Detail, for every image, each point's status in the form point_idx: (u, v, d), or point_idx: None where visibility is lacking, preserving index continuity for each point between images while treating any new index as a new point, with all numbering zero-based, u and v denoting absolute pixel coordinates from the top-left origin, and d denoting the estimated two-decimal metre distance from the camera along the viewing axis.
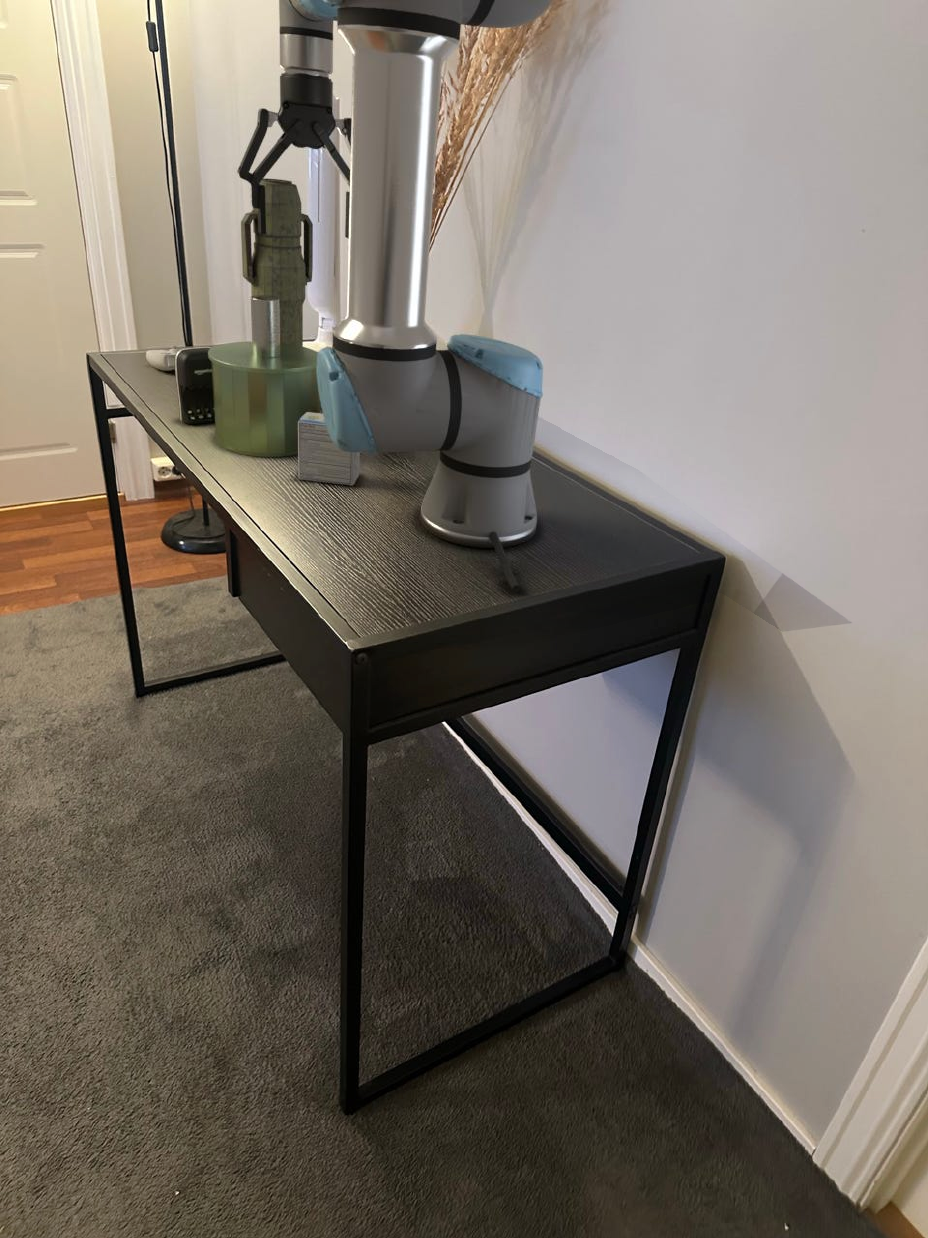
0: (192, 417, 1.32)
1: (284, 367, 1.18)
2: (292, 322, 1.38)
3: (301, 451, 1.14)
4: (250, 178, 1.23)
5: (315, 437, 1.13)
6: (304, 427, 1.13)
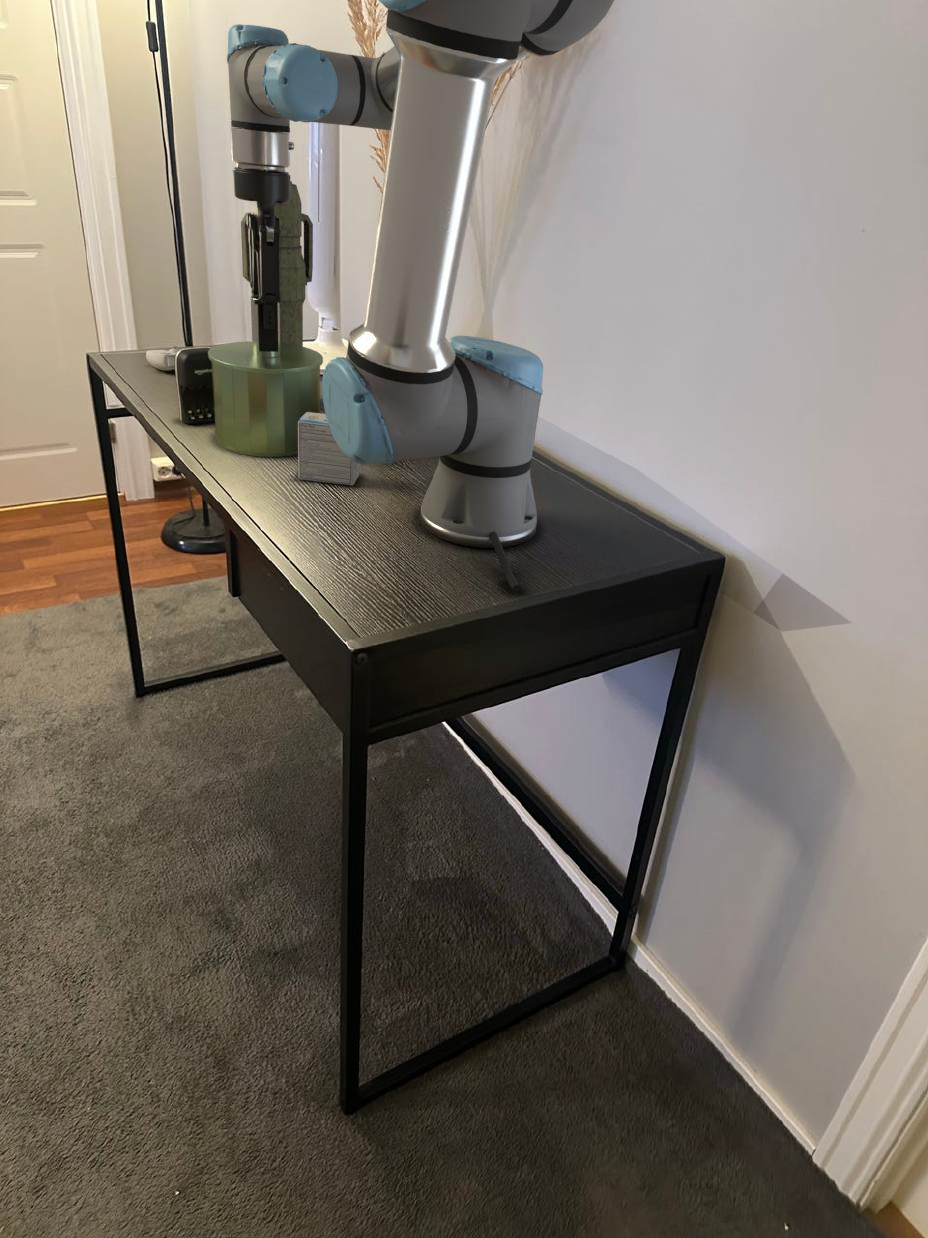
0: (192, 417, 1.32)
1: (284, 367, 1.18)
2: (292, 322, 1.38)
3: (301, 451, 1.14)
4: None
5: (315, 437, 1.13)
6: (304, 427, 1.13)
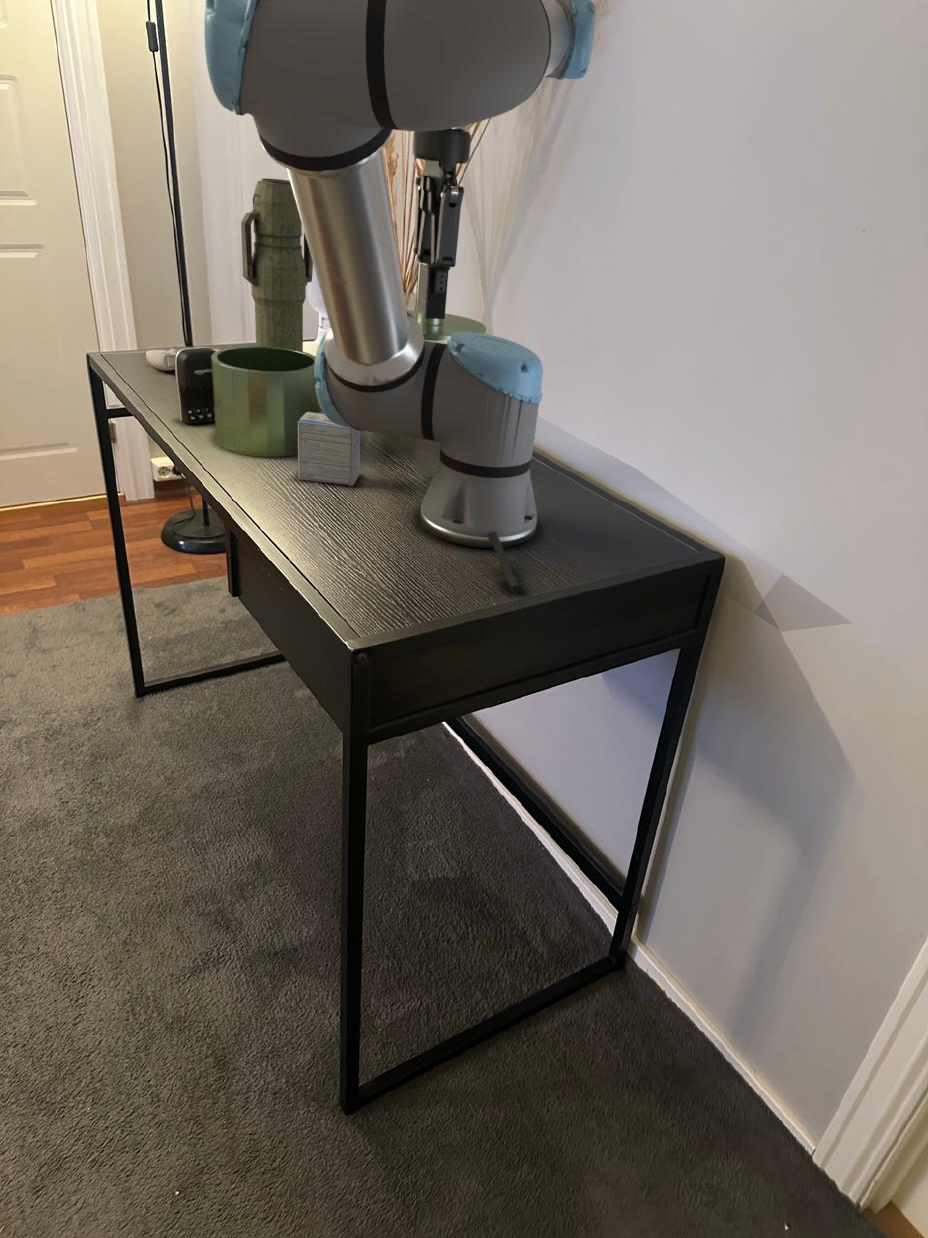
0: (192, 417, 1.32)
1: None
2: (292, 322, 1.38)
3: (301, 451, 1.14)
4: None
5: (315, 437, 1.13)
6: (304, 427, 1.13)
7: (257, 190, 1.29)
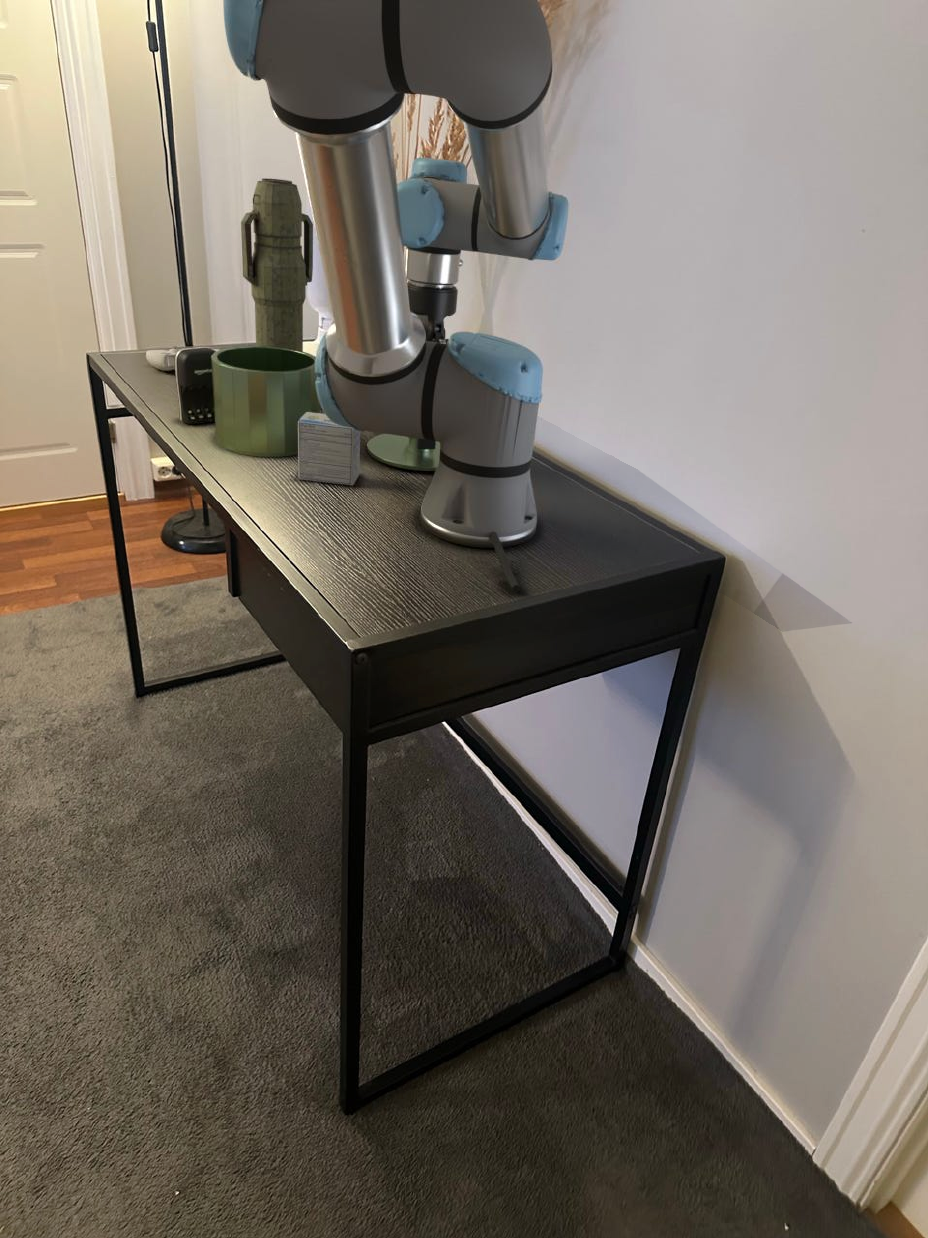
0: (192, 417, 1.32)
1: None
2: (292, 322, 1.38)
3: (301, 451, 1.14)
4: None
5: (315, 437, 1.13)
6: (303, 427, 1.13)
7: (257, 190, 1.29)
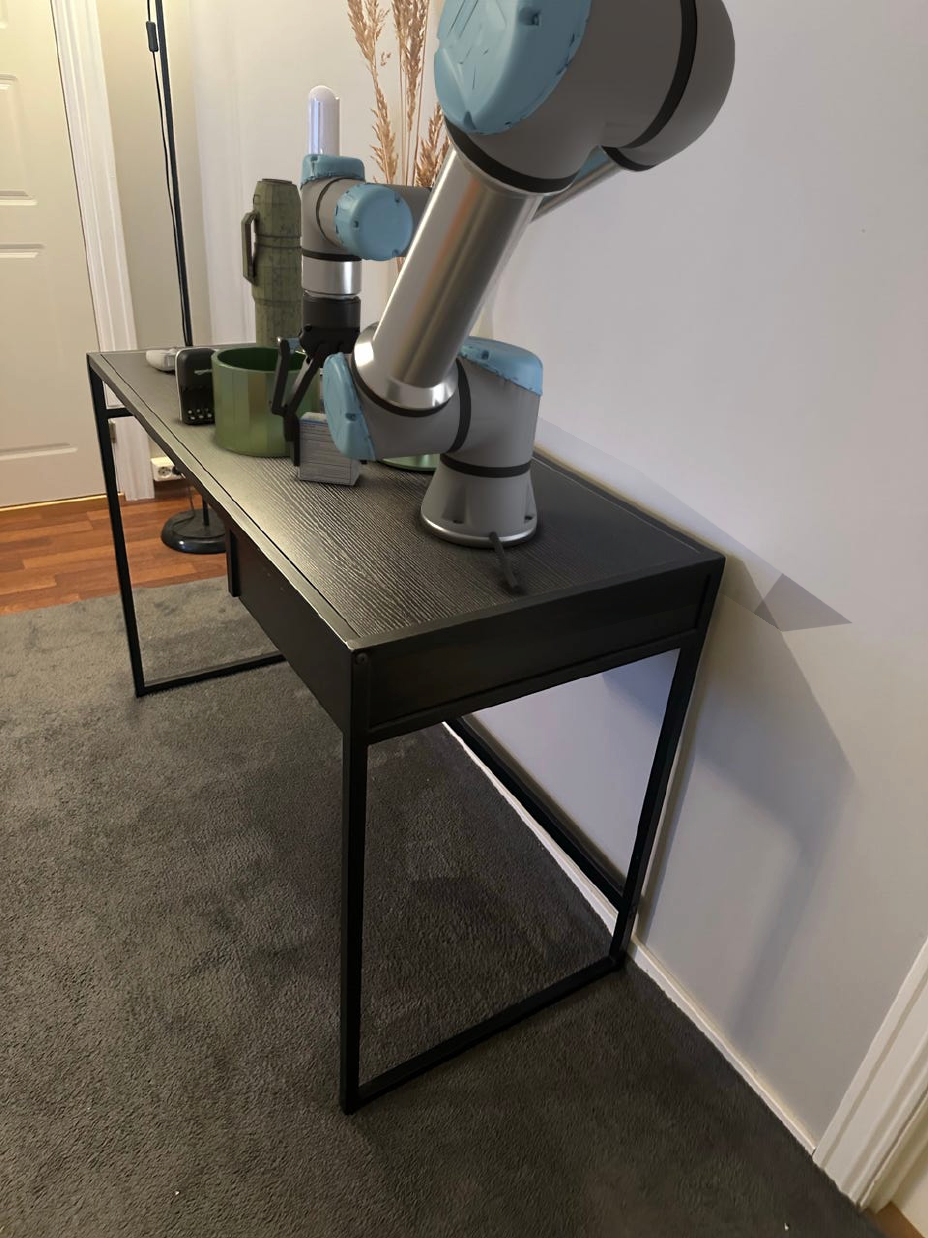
0: (192, 417, 1.32)
1: None
2: (292, 322, 1.38)
3: (301, 451, 1.14)
4: (283, 414, 1.11)
5: (315, 437, 1.13)
6: (304, 427, 1.13)
7: (257, 190, 1.29)
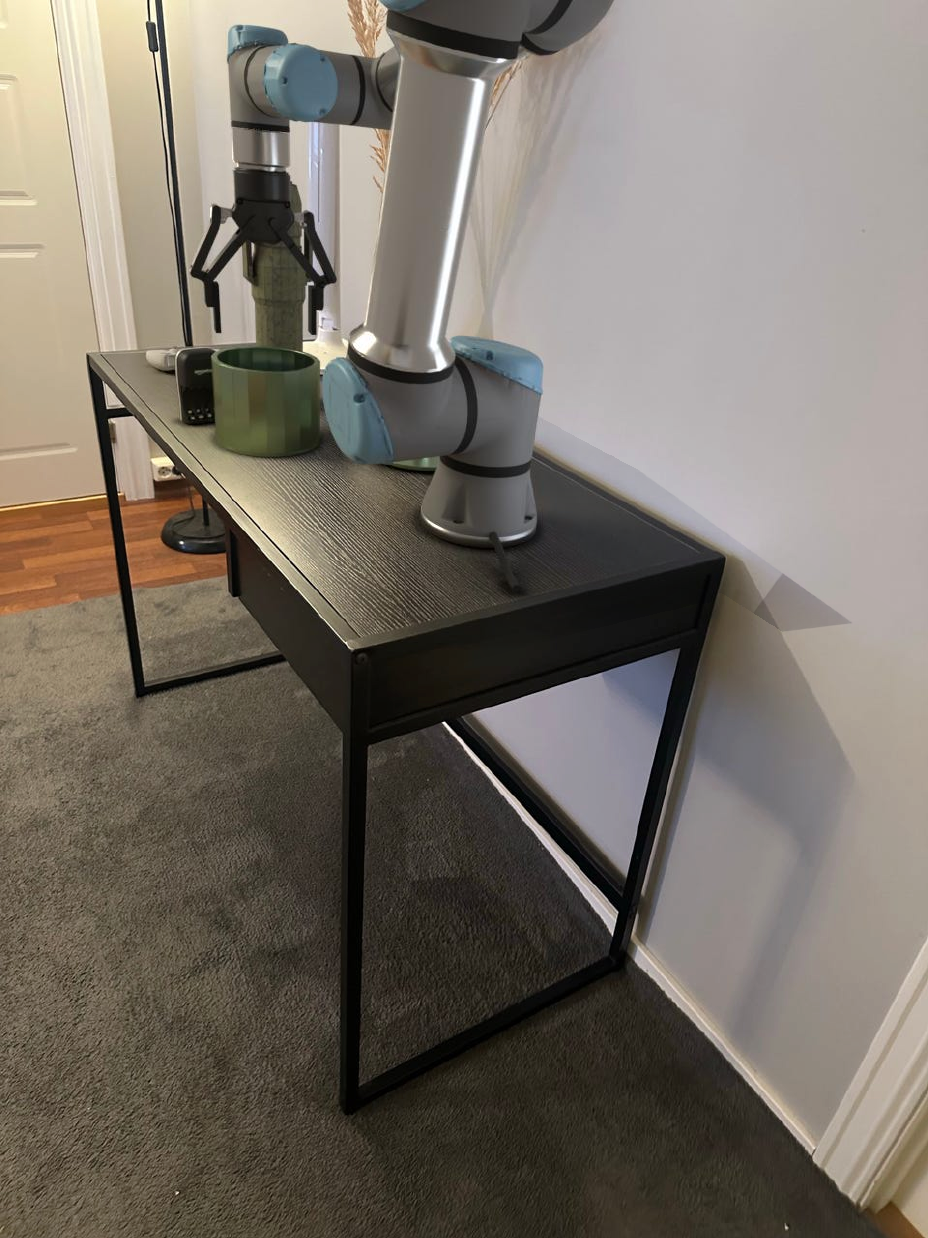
0: (192, 417, 1.32)
1: None
2: (292, 322, 1.38)
3: None
4: (203, 277, 1.14)
5: None
6: None
7: None
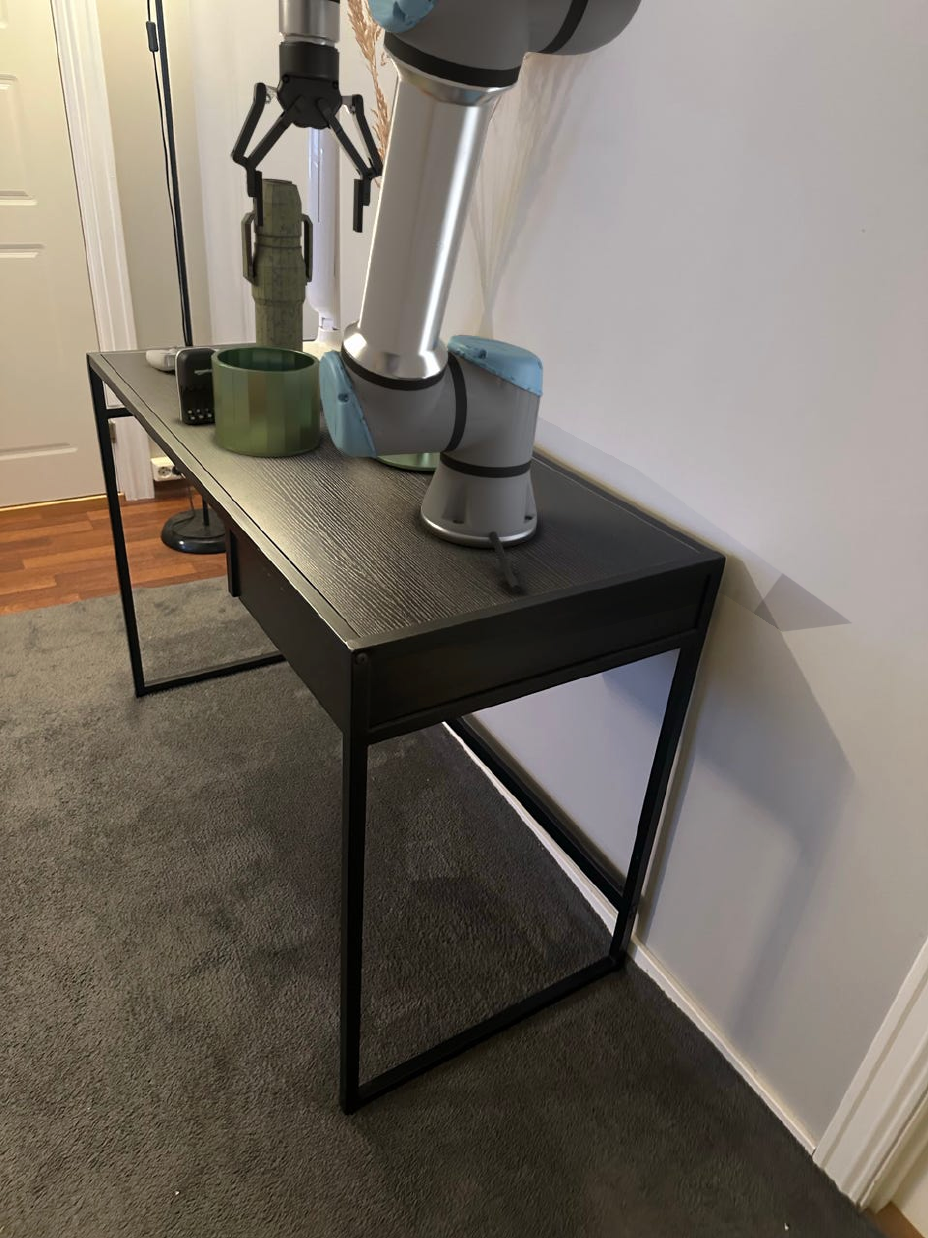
0: (192, 417, 1.32)
1: None
2: (292, 322, 1.38)
3: None
4: (245, 163, 1.08)
5: None
6: None
7: None
